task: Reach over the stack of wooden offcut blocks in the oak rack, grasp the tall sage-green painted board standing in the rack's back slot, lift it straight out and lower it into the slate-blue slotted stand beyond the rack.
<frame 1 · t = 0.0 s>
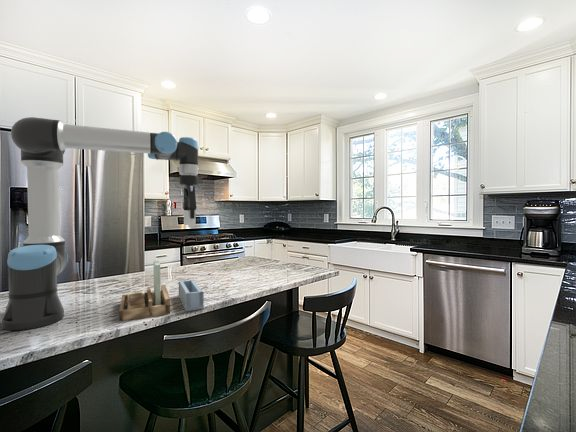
hand: (189, 226, 129), 28 cm above the countertop, fingers open, 13 cm apart
stand: (190, 302, 115), on the countertop
sheet: (157, 306, 110), resting in rack
offcut pine: (136, 305, 111), resting in rack
rack: (152, 306, 110), on the countertop
offcut oak: (136, 314, 102), resting in rack, touching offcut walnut
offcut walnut: (136, 302, 102), point 4 cm above the countertop, touching offcut oak
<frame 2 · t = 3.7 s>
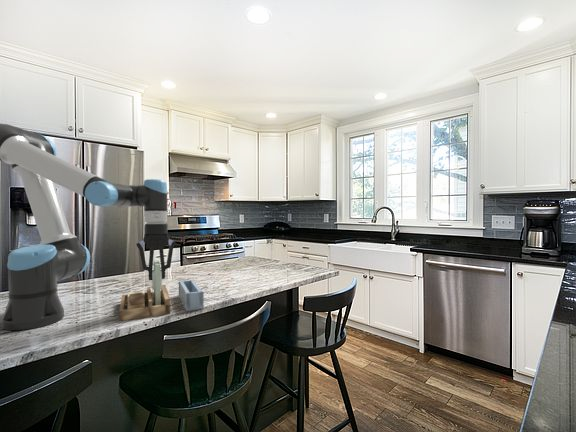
hand: (157, 288, 110), 6 cm above the countertop, fingers closed on sheet, 2 cm apart
sheet: (157, 306, 110), resting in rack, touching gripper
everything else where it was.
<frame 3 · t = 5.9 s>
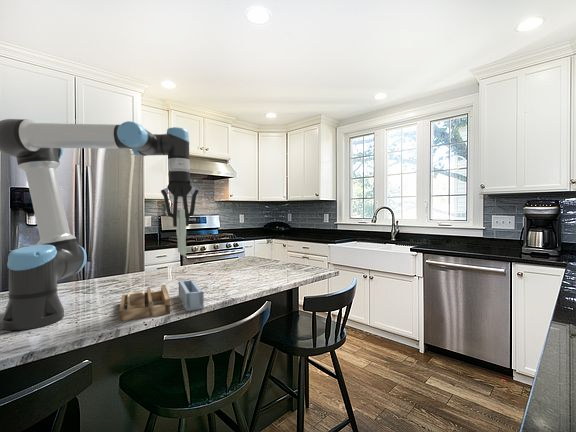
hand: (181, 235, 113), 25 cm above the countertop, fingers closed on sheet, 2 cm apart
sheet: (181, 252, 113), point 19 cm above the countertop, touching gripper
everything else where it was.
when the fingers open (9 cm above the countertop, at t = 8.3 s): sheet drops 2 cm, resting on stand.
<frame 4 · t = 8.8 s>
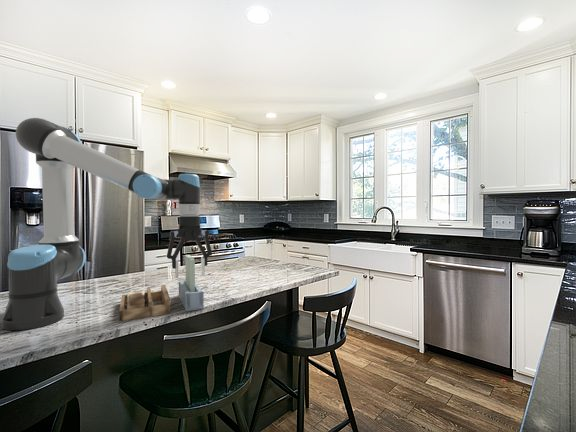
hand: (190, 275, 115), 10 cm above the countertop, fingers open, 9 cm apart
sheet: (190, 299, 115), point 1 cm above the countertop, touching stand
offcut oak: (136, 314, 102), resting in rack
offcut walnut: (136, 302, 102), point 4 cm above the countertop
everything else where it was.
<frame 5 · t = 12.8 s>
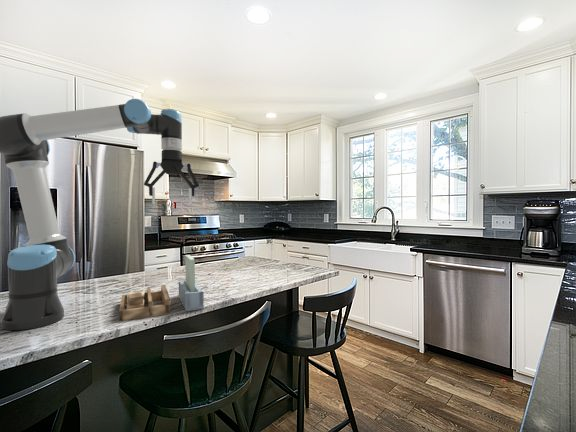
hand: (172, 204, 121), 37 cm above the countertop, fingers open, 13 cm apart
nothing on the countertop moved.
at the end: sheet inside the target area on the stand (0.1 cm from its centre), point 1.0 cm above the stand's base; the gripper is holding nothing; sheet moved 11.5 cm from its start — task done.
